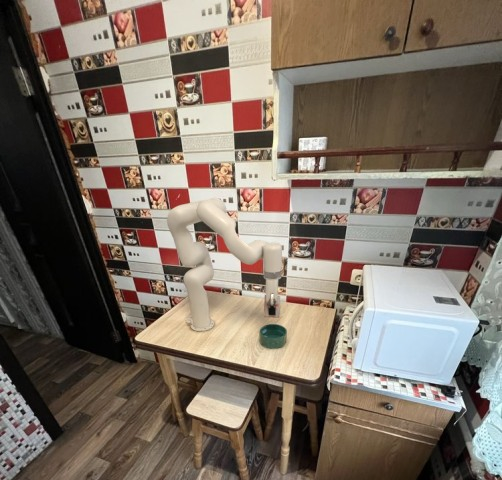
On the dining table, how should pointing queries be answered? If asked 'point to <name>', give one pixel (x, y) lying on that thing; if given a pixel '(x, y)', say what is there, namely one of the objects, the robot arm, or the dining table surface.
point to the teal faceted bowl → (273, 336)
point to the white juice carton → (277, 305)
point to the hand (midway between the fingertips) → (272, 311)
